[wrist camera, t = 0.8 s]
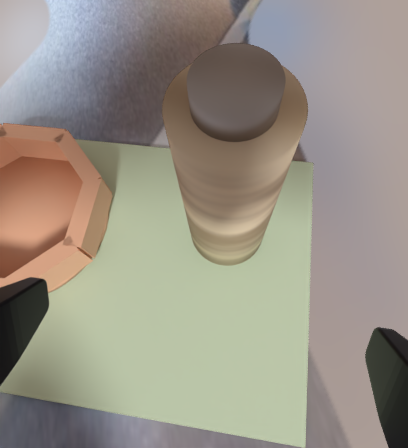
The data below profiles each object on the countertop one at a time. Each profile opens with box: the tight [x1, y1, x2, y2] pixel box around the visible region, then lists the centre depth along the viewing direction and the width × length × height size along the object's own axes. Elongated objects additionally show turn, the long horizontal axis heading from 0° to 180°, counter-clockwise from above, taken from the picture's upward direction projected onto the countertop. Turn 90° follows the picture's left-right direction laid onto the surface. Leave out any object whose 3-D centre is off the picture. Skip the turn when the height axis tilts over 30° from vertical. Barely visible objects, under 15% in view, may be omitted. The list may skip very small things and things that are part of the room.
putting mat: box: [0, 139, 313, 448], centre depth 23 cm, size 19×28×1 cm
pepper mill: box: [162, 43, 308, 266], centre depth 17 cm, size 5×5×14 cm
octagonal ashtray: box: [0, 123, 113, 293], centre depth 23 cm, size 12×12×3 cm
